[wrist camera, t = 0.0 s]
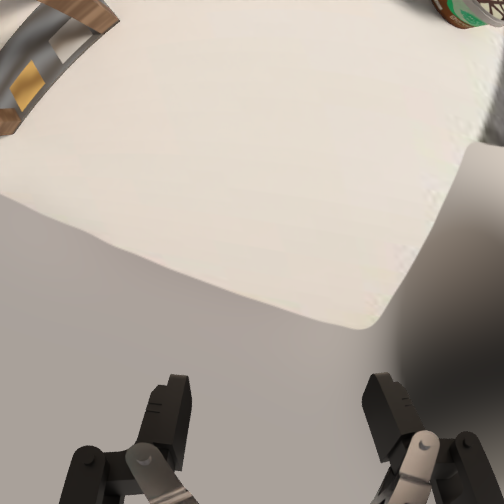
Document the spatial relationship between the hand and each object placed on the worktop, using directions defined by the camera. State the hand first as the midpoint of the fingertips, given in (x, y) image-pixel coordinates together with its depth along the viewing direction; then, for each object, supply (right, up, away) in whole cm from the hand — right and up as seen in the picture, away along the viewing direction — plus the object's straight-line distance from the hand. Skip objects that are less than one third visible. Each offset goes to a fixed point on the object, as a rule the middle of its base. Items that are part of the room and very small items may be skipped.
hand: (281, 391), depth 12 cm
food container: (+31, +43, +15) cm, 55 cm away
